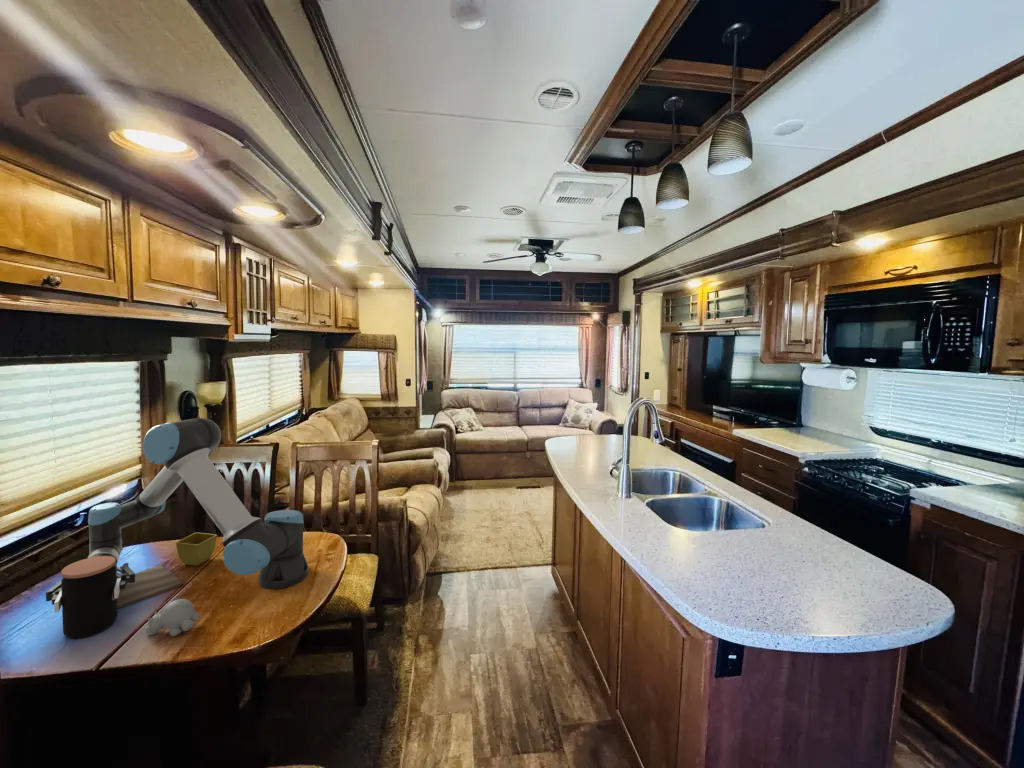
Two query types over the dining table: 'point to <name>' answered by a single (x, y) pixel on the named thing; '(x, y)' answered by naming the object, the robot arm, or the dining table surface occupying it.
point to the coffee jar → (88, 596)
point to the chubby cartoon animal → (173, 618)
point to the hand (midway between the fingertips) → (87, 600)
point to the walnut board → (147, 585)
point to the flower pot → (196, 548)
